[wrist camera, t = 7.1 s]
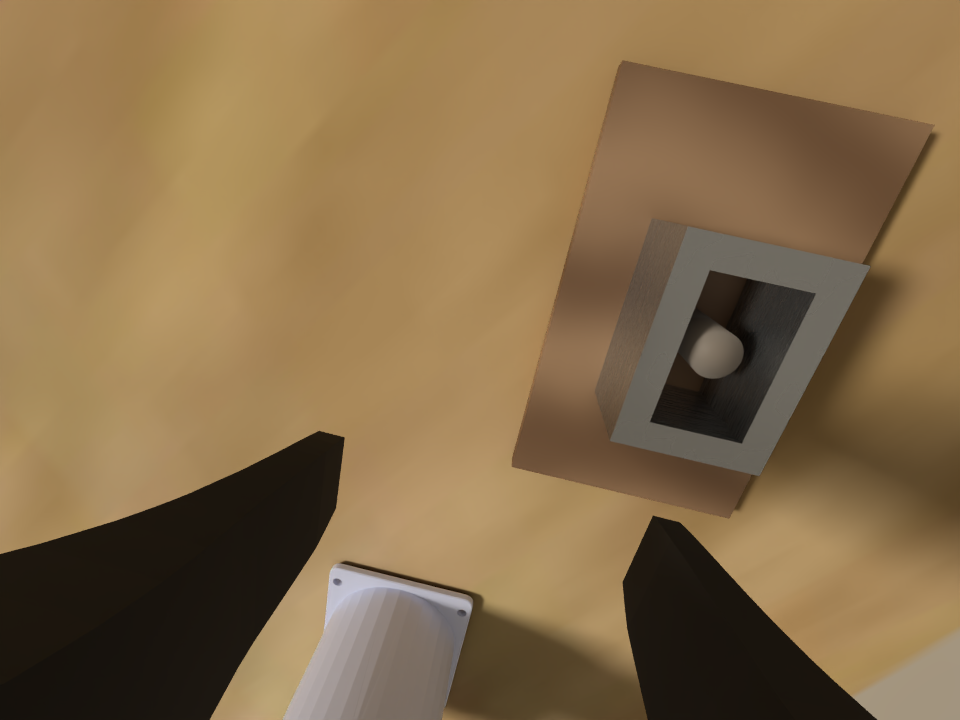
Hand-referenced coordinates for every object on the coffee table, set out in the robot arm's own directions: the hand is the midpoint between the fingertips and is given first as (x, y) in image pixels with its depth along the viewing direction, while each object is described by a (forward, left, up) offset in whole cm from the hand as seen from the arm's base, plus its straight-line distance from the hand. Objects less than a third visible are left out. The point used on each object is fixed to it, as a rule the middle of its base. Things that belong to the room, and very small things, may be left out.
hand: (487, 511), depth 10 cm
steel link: (+3, -6, -9) cm, 11 cm away
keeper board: (+3, -6, -10) cm, 12 cm away
